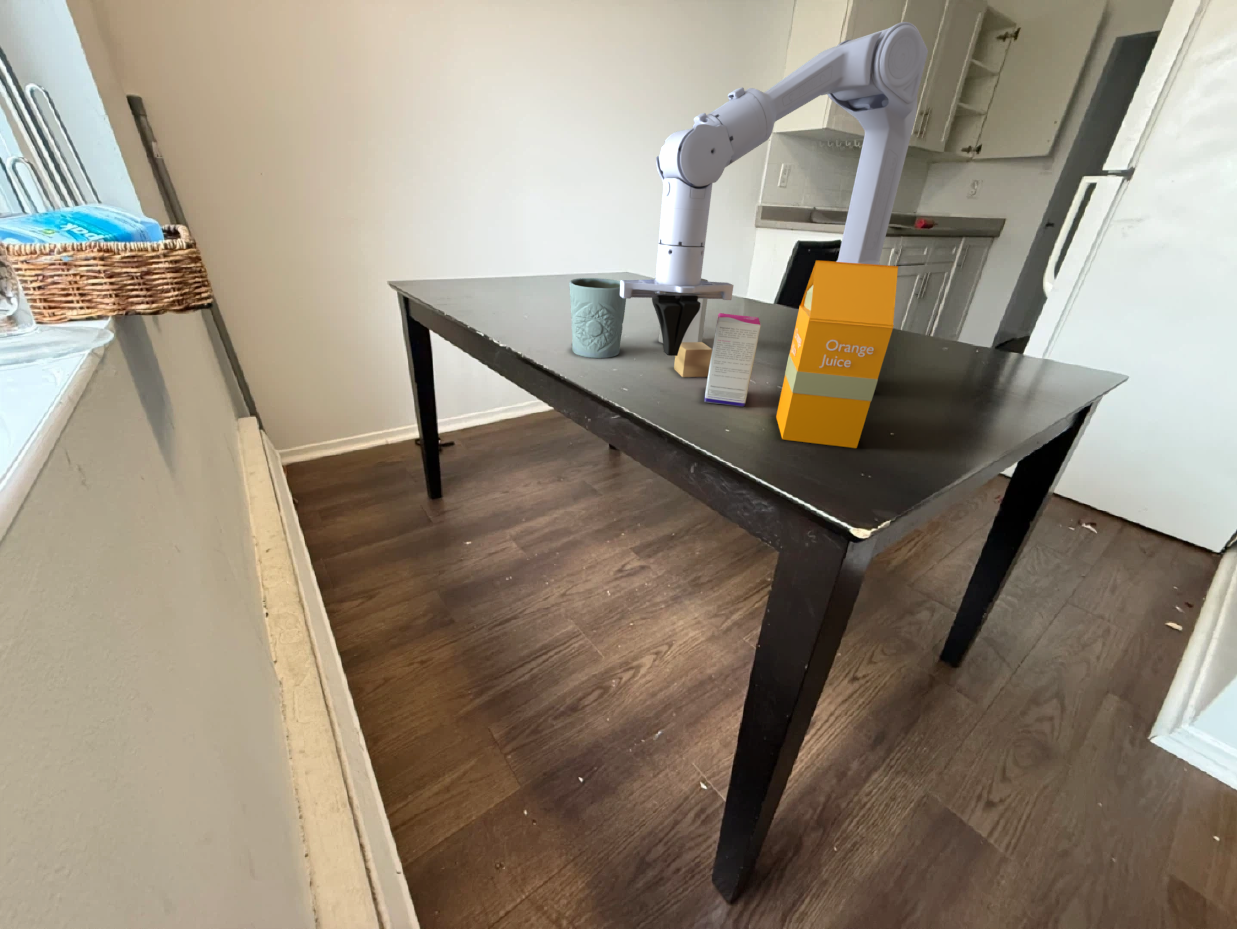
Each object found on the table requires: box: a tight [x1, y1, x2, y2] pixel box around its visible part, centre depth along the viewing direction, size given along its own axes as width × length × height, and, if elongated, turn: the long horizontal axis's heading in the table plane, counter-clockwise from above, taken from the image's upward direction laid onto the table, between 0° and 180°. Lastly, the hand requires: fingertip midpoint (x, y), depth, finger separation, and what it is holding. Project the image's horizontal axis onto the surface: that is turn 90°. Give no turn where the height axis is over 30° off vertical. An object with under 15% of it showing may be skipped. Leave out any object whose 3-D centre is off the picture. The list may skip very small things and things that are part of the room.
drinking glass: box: [568, 277, 627, 359], centre depth 89 cm, size 10×10×12 cm
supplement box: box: [704, 312, 762, 407], centre depth 71 cm, size 6×6×12 cm
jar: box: [658, 277, 709, 344], centre depth 98 cm, size 9×8×12 cm
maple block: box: [673, 341, 713, 378], centre depth 83 cm, size 4×4×4 cm
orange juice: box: [775, 259, 899, 449], centre depth 60 cm, size 8×9×20 cm
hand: (670, 353), depth 68 cm, fingers closed
